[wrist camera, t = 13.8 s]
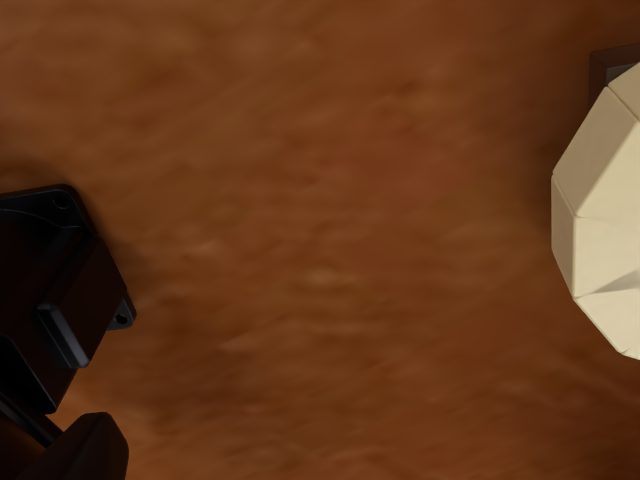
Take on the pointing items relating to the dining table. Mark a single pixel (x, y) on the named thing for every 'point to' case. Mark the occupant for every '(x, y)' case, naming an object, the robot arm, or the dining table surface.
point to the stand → (610, 67)
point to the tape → (603, 214)
